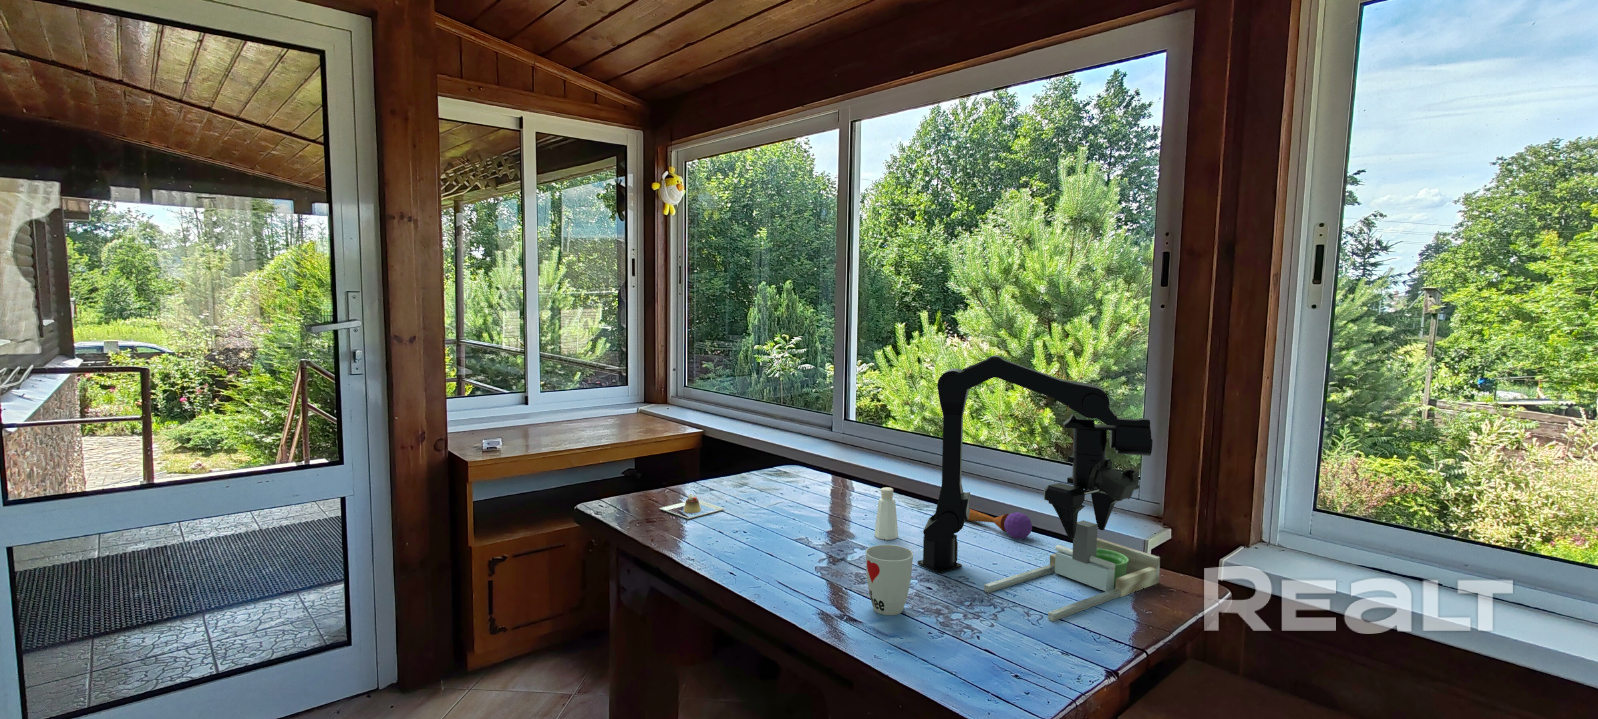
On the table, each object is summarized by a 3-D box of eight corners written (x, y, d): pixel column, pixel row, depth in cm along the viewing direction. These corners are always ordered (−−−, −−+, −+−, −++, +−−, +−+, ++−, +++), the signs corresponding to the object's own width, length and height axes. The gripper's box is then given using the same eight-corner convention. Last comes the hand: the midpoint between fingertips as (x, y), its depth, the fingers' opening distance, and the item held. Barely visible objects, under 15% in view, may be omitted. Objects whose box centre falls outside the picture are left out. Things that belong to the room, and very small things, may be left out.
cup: (861, 599, 127) (861, 544, 126) (905, 598, 127) (906, 543, 127) (869, 619, 119) (870, 561, 118) (917, 618, 119) (918, 560, 119)
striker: (1107, 592, 129) (1109, 533, 129) (1051, 571, 139) (1053, 516, 139) (1117, 589, 131) (1119, 530, 130) (1061, 568, 141) (1063, 514, 140)
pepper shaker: (899, 540, 159) (900, 491, 158) (875, 539, 159) (876, 491, 158) (896, 532, 164) (897, 485, 164) (873, 532, 165) (874, 485, 164)
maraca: (971, 501, 177) (1038, 514, 161) (969, 525, 177) (1036, 541, 160) (954, 500, 174) (1021, 514, 158) (952, 524, 174) (1019, 541, 157)
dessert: (725, 512, 181) (725, 494, 181) (687, 522, 172) (687, 503, 172) (696, 503, 189) (696, 485, 189) (658, 512, 181) (658, 493, 180)
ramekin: (1069, 577, 138) (1070, 555, 138) (1089, 565, 144) (1090, 544, 144) (1116, 591, 132) (1117, 567, 131) (1135, 578, 138) (1136, 556, 138)
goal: (1054, 621, 118) (1055, 592, 118) (983, 590, 131) (983, 563, 131) (1158, 582, 136) (1160, 557, 135) (1087, 558, 148) (1088, 534, 148)
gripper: (1098, 466, 121) (1094, 555, 123) (1159, 454, 132) (1155, 536, 133) (1043, 454, 131) (1040, 538, 132) (1104, 444, 141) (1101, 521, 142)
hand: (1086, 533), depth 134 cm, fingers open, 9 cm apart
